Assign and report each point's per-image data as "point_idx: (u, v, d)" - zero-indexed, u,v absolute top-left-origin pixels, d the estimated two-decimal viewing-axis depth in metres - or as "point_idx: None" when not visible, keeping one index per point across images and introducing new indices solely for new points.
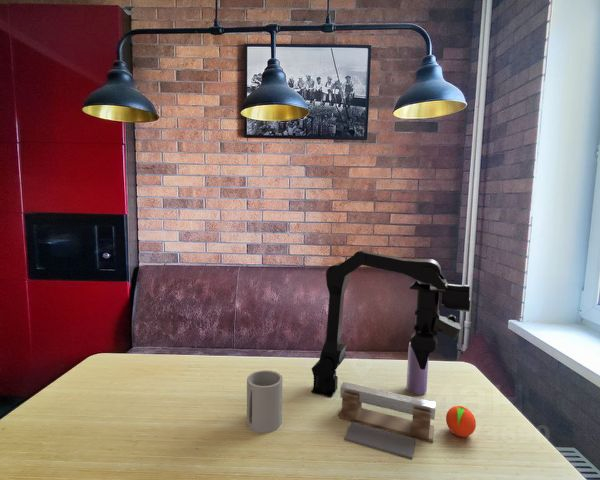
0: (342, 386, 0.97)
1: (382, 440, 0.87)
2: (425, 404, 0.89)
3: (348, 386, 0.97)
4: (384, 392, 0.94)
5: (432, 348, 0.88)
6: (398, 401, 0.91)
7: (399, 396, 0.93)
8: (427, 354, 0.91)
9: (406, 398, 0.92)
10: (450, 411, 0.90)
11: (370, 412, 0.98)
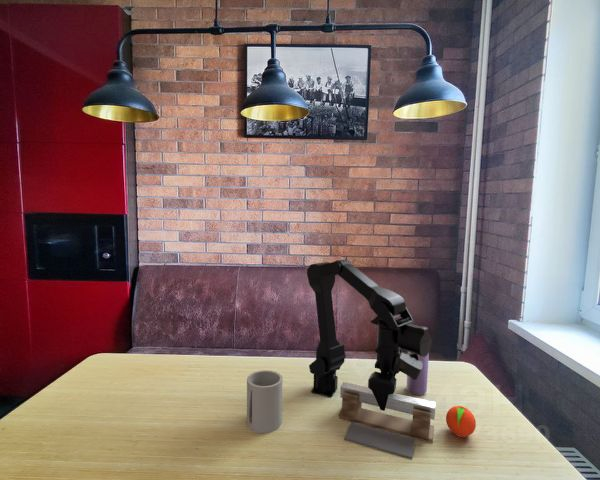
0: (342, 386, 0.97)
1: (382, 440, 0.87)
2: (425, 404, 0.89)
3: (348, 386, 0.97)
4: None
5: (390, 391, 0.84)
6: (398, 401, 0.91)
7: (399, 396, 0.93)
8: (386, 395, 0.87)
9: (406, 398, 0.92)
10: (450, 411, 0.90)
11: (370, 412, 0.98)
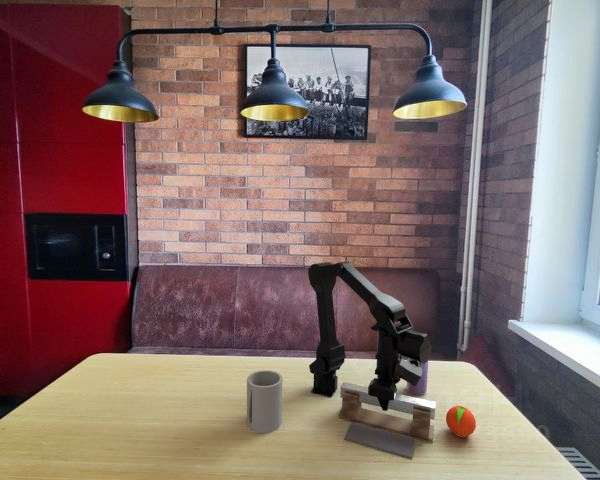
0: (342, 386, 0.97)
1: (382, 440, 0.87)
2: (425, 404, 0.89)
3: (348, 386, 0.97)
4: None
5: (390, 398, 0.84)
6: (398, 401, 0.91)
7: (399, 396, 0.93)
8: None
9: (406, 398, 0.92)
10: (450, 411, 0.90)
11: (370, 412, 0.98)
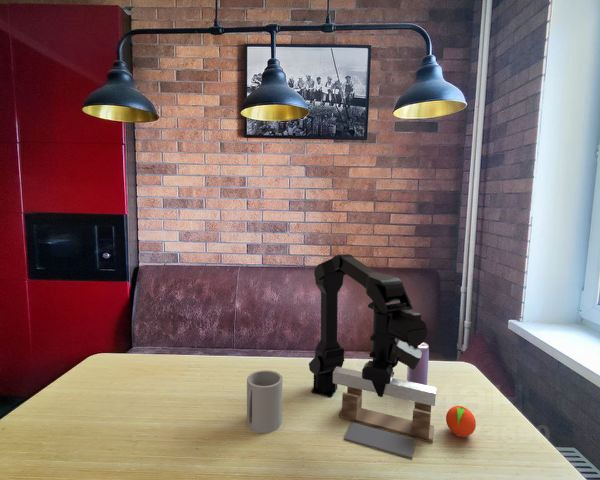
0: (335, 371, 0.89)
1: (382, 440, 0.87)
2: (425, 389, 0.82)
3: (341, 370, 0.90)
4: None
5: (385, 381, 0.76)
6: (395, 386, 0.83)
7: (397, 380, 0.85)
8: None
9: (404, 383, 0.84)
10: (450, 411, 0.90)
11: (370, 412, 0.98)
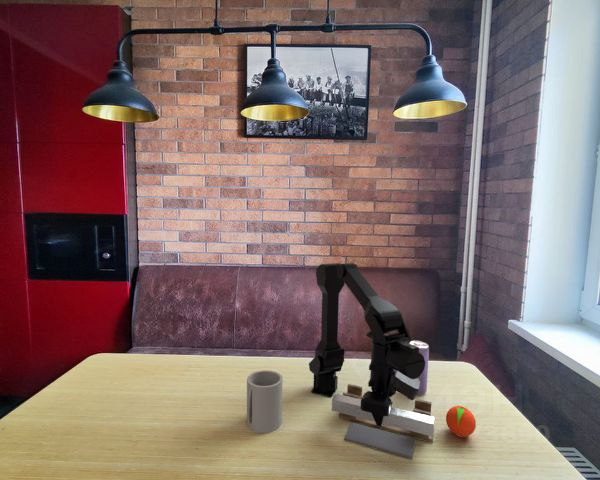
0: (334, 398, 0.90)
1: (382, 440, 0.87)
2: (423, 419, 0.82)
3: (340, 398, 0.90)
4: None
5: (384, 413, 0.77)
6: (394, 415, 0.84)
7: (395, 409, 0.86)
8: None
9: (402, 412, 0.85)
10: (450, 411, 0.90)
11: None
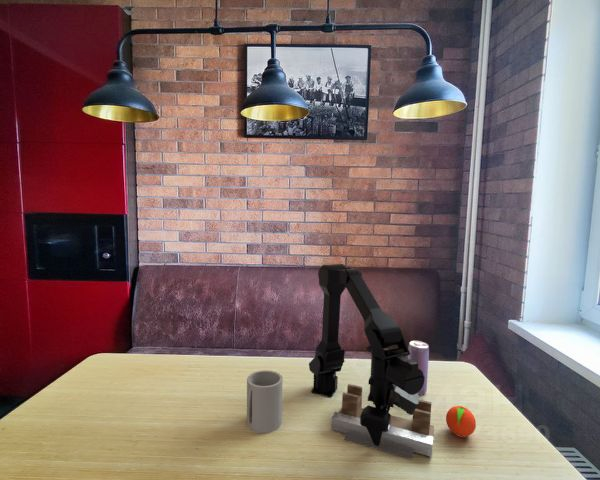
0: (333, 417, 0.91)
1: None
2: (422, 439, 0.83)
3: (339, 416, 0.91)
4: None
5: (383, 429, 0.77)
6: (393, 435, 0.84)
7: (394, 429, 0.86)
8: (380, 431, 0.81)
9: (401, 431, 0.85)
10: (450, 411, 0.90)
11: None
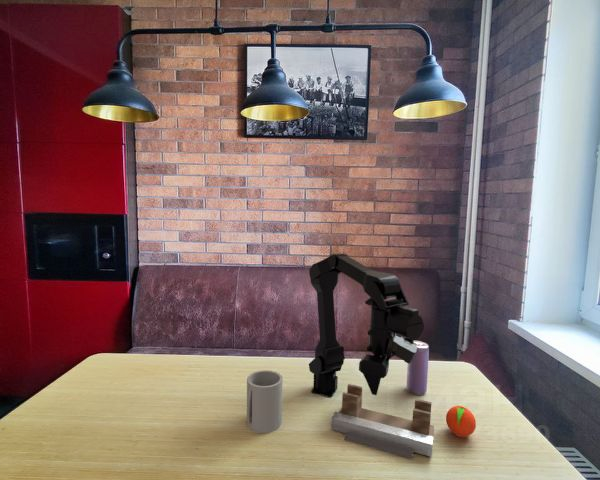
0: (333, 417, 0.91)
1: None
2: (422, 439, 0.83)
3: (339, 416, 0.91)
4: (378, 424, 0.88)
5: (381, 374, 0.80)
6: (393, 435, 0.84)
7: (394, 429, 0.86)
8: (378, 379, 0.83)
9: (401, 431, 0.85)
10: (450, 411, 0.90)
11: (370, 412, 0.98)
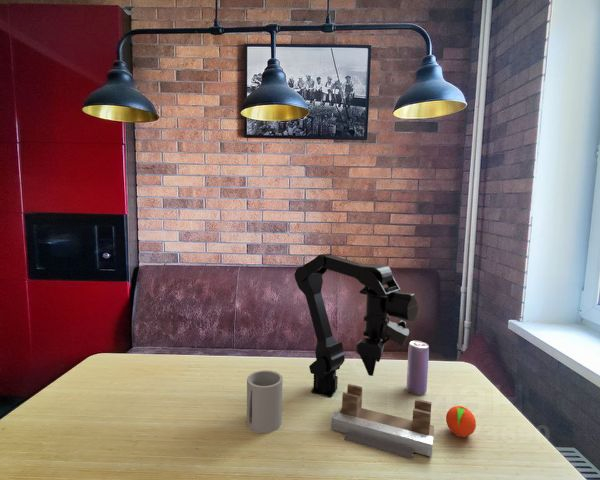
0: (333, 417, 0.91)
1: None
2: (422, 439, 0.83)
3: (339, 416, 0.91)
4: (378, 424, 0.88)
5: (377, 355, 0.87)
6: (393, 435, 0.84)
7: (394, 429, 0.86)
8: (374, 360, 0.91)
9: (401, 431, 0.85)
10: (450, 411, 0.90)
11: (370, 412, 0.98)
